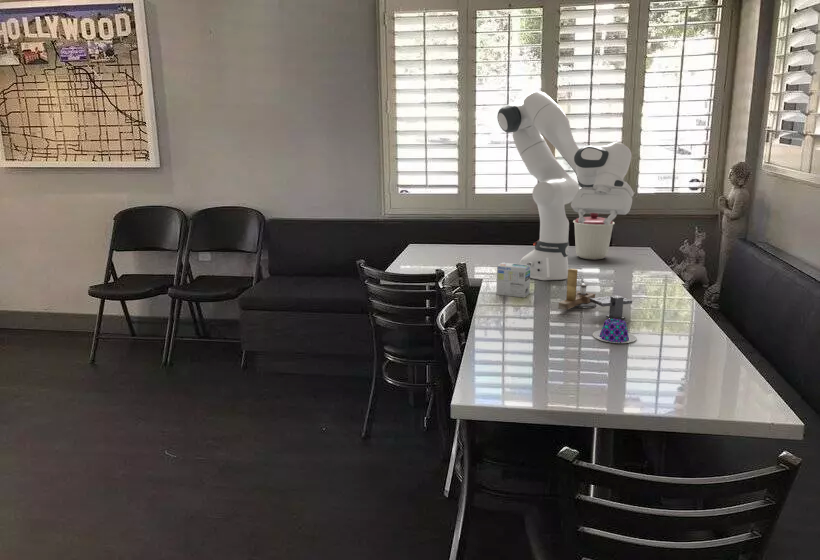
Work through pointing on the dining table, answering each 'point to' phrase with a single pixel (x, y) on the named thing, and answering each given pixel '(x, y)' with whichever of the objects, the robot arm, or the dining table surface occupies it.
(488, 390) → the dining table surface
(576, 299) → the link
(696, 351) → the dining table surface
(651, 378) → the dining table surface
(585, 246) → the canister
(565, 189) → the robot arm
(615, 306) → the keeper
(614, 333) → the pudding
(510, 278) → the light bulb box
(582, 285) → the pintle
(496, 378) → the dining table surface
